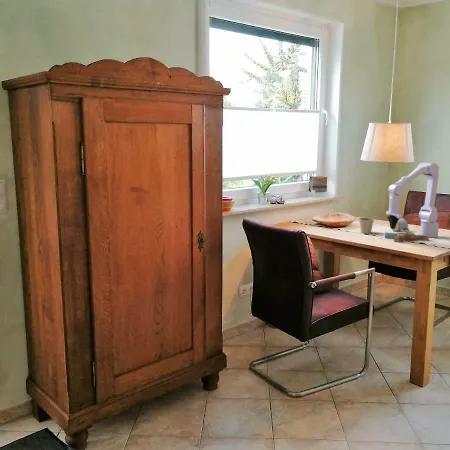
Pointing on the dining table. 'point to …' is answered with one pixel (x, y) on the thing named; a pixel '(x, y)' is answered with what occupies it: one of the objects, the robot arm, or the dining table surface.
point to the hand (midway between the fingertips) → (392, 228)
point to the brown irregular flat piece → (410, 237)
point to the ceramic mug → (401, 226)
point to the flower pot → (366, 224)
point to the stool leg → (393, 234)
